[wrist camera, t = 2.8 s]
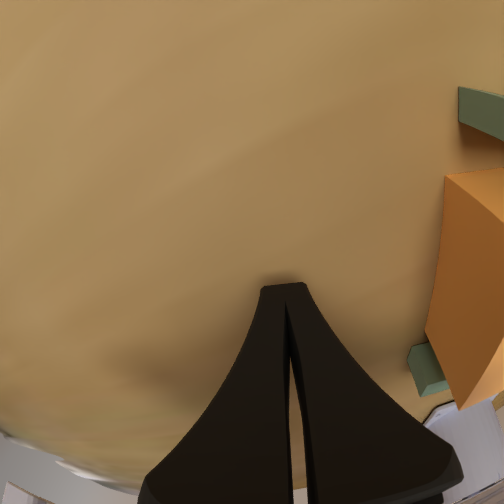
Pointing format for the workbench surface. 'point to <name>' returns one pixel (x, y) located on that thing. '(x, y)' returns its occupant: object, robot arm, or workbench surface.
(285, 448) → the robot arm
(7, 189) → the workbench surface
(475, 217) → the orange square block
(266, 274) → the workbench surface
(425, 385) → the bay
